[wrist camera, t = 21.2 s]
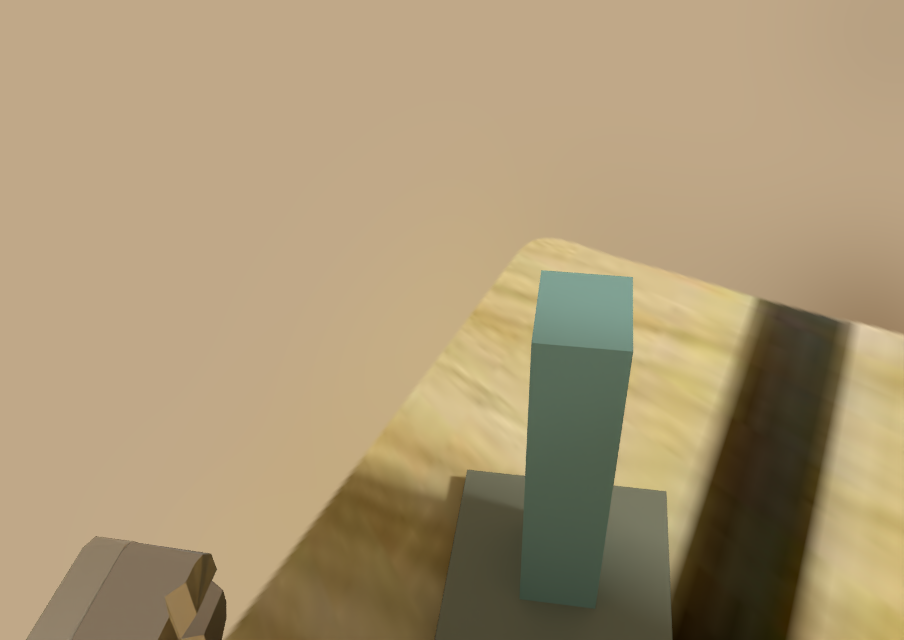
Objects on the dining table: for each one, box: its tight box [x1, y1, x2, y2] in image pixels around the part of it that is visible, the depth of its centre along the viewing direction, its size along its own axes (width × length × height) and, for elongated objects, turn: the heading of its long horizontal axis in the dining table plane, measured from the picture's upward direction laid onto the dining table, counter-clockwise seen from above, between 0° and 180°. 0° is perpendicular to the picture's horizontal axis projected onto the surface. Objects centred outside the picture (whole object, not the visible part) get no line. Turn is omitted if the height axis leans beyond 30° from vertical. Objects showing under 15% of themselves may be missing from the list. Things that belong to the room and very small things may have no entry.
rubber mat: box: [435, 470, 672, 640], centre depth 48 cm, size 12×12×1 cm
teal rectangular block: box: [519, 270, 633, 609], centre depth 42 cm, size 5×4×18 cm
